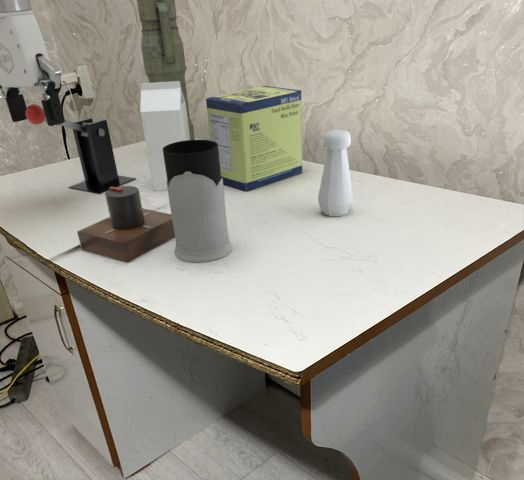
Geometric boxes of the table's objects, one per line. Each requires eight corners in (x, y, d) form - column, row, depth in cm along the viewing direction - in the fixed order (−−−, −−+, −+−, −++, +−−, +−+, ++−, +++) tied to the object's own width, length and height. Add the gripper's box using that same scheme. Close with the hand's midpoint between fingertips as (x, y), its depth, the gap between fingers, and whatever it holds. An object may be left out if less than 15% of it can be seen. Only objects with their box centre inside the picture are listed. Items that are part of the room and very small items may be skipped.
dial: (151, 220, 83) (145, 186, 80) (128, 231, 80) (120, 196, 77) (128, 215, 86) (122, 182, 83) (105, 225, 83) (97, 191, 80)
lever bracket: (100, 199, 103) (84, 129, 95) (69, 193, 107) (51, 125, 100) (137, 184, 109) (124, 117, 102) (107, 178, 114) (92, 114, 106)
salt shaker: (312, 209, 92) (312, 129, 85) (342, 203, 93) (344, 125, 86) (327, 220, 87) (328, 137, 80) (358, 214, 89) (362, 132, 81)
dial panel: (127, 262, 78) (122, 242, 77) (81, 249, 83) (76, 230, 81) (180, 233, 86) (178, 214, 85) (136, 223, 91) (132, 205, 89)
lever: (32, 122, 90) (33, 102, 89) (20, 121, 92) (22, 101, 91) (101, 142, 103) (103, 124, 102) (90, 140, 104) (92, 123, 103)
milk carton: (191, 193, 102) (176, 84, 92) (154, 195, 103) (135, 86, 92) (195, 182, 108) (182, 78, 97) (161, 184, 109) (144, 80, 98)
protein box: (303, 172, 110) (302, 89, 101) (246, 192, 101) (240, 103, 93) (269, 163, 116) (265, 84, 107) (212, 181, 108) (203, 97, 99)
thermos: (169, 164, 120) (140, -26, 100) (151, 154, 128) (121, -24, 109) (205, 157, 123) (184, -29, 103) (185, 147, 132) (162, -26, 112)
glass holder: (169, 263, 77) (151, 156, 69) (186, 225, 89) (172, 130, 80) (229, 261, 77) (218, 153, 68) (238, 224, 88) (230, 128, 80)
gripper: (-49, 8, 84) (-10, 123, 94) (18, 4, 76) (53, 131, 86) (-7, 5, 89) (26, 114, 99) (61, 1, 81) (89, 121, 91)
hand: (38, 122), depth 93 cm, fingers open, 9 cm apart
